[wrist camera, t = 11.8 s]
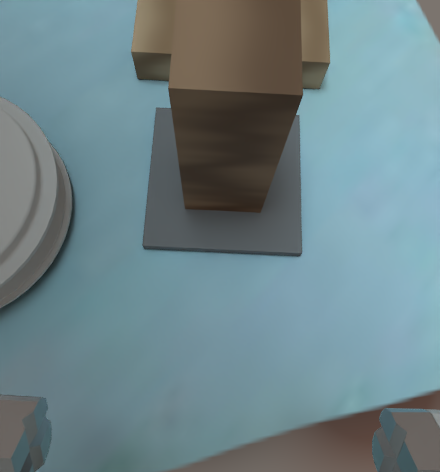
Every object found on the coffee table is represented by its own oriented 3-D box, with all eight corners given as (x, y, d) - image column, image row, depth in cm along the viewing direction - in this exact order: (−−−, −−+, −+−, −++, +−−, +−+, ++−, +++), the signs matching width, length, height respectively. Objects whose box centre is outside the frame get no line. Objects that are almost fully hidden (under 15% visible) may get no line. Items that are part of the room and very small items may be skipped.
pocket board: (137, 78, 27) (131, 51, 25) (150, -26, 30) (145, -60, 28) (319, 89, 27) (330, 62, 25) (315, -17, 30) (324, -49, 28)
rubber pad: (144, 248, 24) (142, 245, 23) (157, 113, 26) (156, 107, 26) (299, 255, 24) (302, 253, 23) (297, 120, 27) (299, 115, 26)
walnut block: (184, 208, 24) (168, 87, 13) (189, 141, 25) (177, -17, 15) (260, 212, 24) (302, 95, 14) (261, 145, 25) (300, -10, 15)
